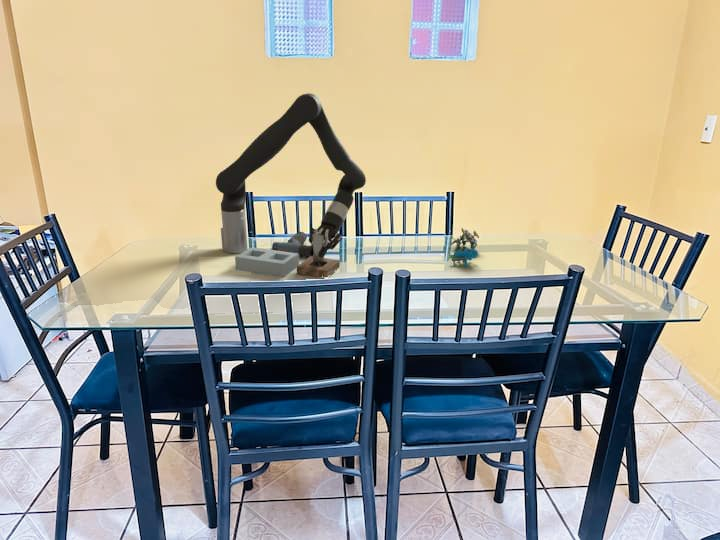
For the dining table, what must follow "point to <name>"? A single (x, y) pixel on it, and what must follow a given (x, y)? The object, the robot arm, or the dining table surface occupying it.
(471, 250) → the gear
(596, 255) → the dining table surface
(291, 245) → the power drill
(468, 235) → the passion flower
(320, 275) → the socket block
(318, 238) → the steel bit
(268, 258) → the block
